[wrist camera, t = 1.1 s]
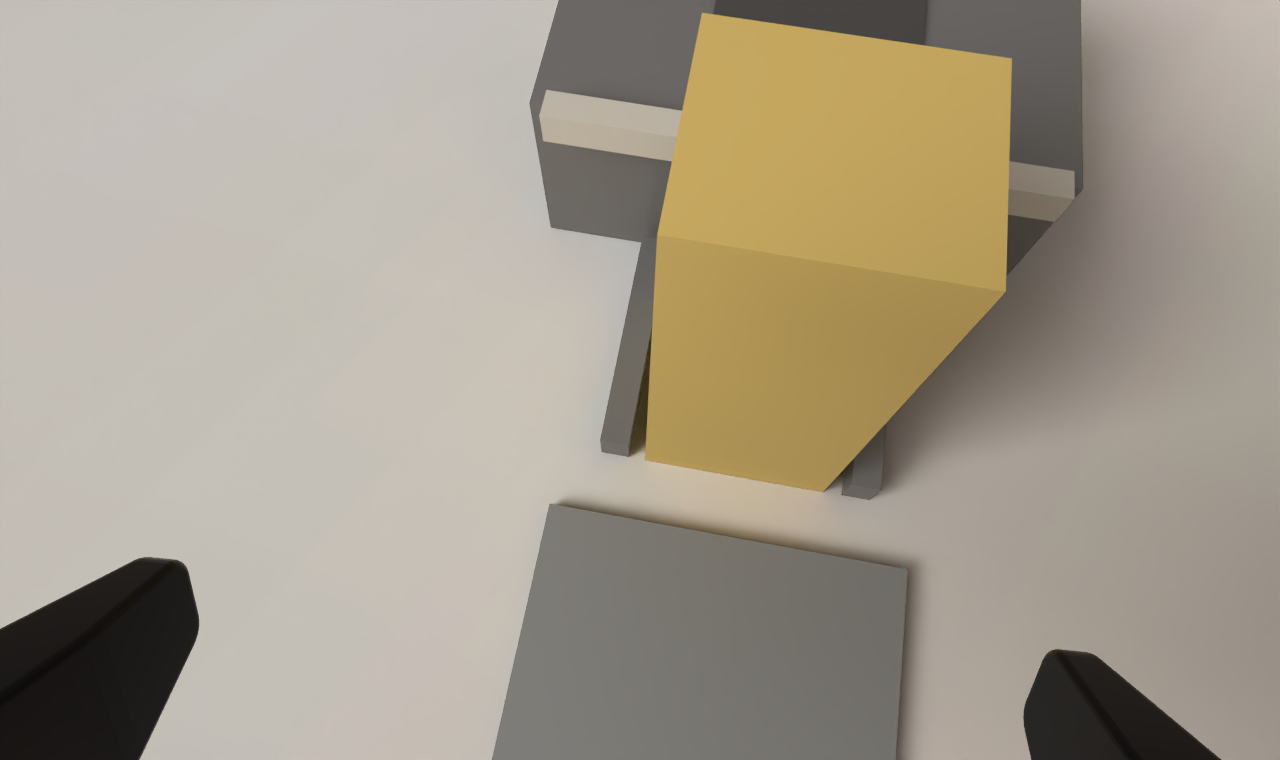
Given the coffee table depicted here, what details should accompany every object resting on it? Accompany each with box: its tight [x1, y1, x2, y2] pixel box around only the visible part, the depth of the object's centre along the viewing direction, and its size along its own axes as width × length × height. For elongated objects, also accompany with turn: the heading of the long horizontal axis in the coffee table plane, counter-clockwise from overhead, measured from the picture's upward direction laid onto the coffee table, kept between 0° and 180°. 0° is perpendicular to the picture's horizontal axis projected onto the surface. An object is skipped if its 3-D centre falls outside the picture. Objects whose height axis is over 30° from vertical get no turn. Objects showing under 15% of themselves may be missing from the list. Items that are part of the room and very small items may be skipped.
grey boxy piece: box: [530, 0, 1083, 500], centre depth 24 cm, size 15×14×7 cm
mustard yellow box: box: [645, 13, 1012, 492], centre depth 19 cm, size 4×5×12 cm
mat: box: [492, 504, 908, 760], centre depth 21 cm, size 10×10×1 cm
